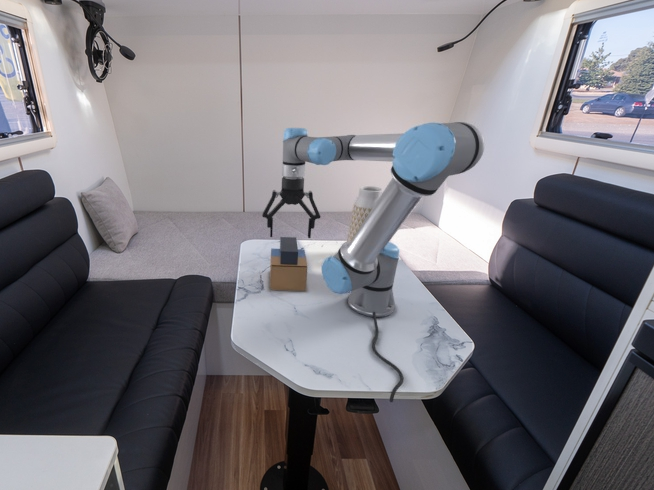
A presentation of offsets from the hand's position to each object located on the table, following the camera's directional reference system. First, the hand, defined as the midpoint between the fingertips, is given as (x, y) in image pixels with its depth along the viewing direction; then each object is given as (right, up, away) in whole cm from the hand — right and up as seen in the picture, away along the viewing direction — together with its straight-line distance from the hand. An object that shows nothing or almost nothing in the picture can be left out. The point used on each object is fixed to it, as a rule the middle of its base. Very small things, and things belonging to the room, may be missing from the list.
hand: (290, 236), depth 134 cm
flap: (0, -6, +7) cm, 9 cm away
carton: (0, -16, +8) cm, 18 cm away
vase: (+33, -7, +29) cm, 45 cm away
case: (0, -7, +4) cm, 8 cm away
